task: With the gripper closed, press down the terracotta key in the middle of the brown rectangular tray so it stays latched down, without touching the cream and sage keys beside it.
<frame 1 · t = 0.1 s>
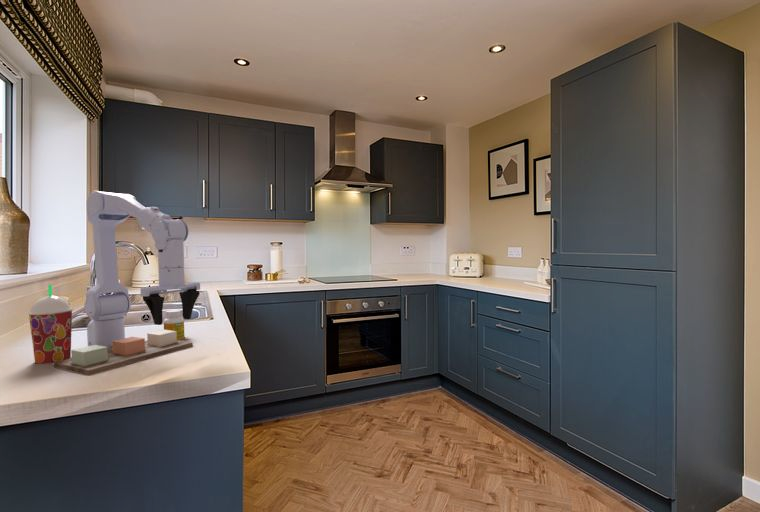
hand: (173, 321, 100), 10 cm above the counter, fingers open, 7 cm apart
key cream: (162, 339, 109), point 3 cm above the counter, slide at 0.0 cm
supplement bottle: (174, 344, 119), on the counter
key terracotta: (129, 347, 101), point 3 cm above the counter, slide at 0.0 cm
smoothie: (53, 366, 98), on the counter
brown rectangular tray: (129, 361, 101), on the counter
key sage: (89, 357, 93), point 4 cm above the counter, slide at 0.0 cm
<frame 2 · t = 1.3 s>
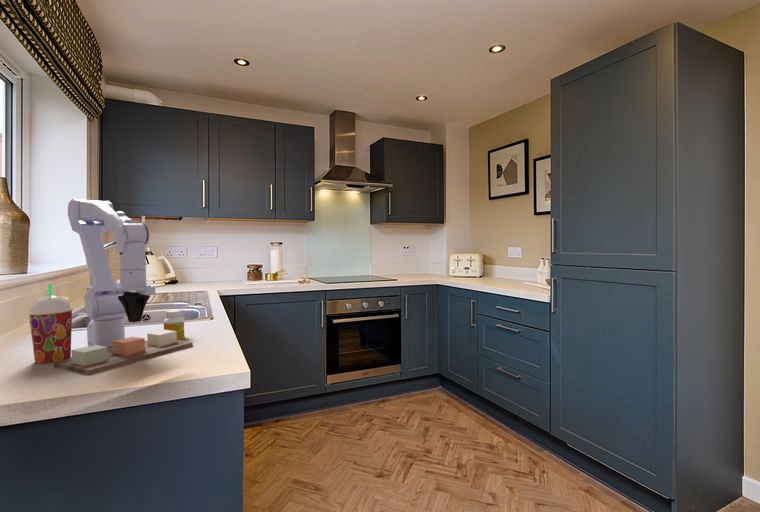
hand: (135, 321, 104), 9 cm above the counter, fingers closed
nothing on the counter moved.
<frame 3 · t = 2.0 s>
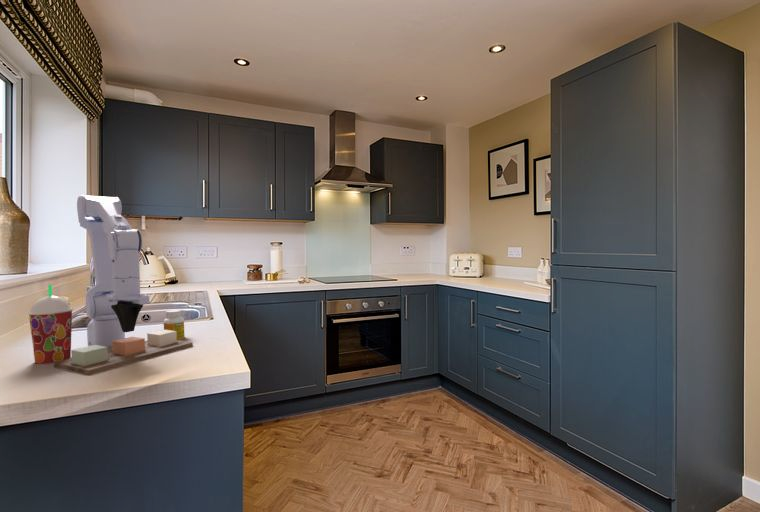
hand: (128, 331, 101), 8 cm above the counter, fingers closed
nothing on the counter moved.
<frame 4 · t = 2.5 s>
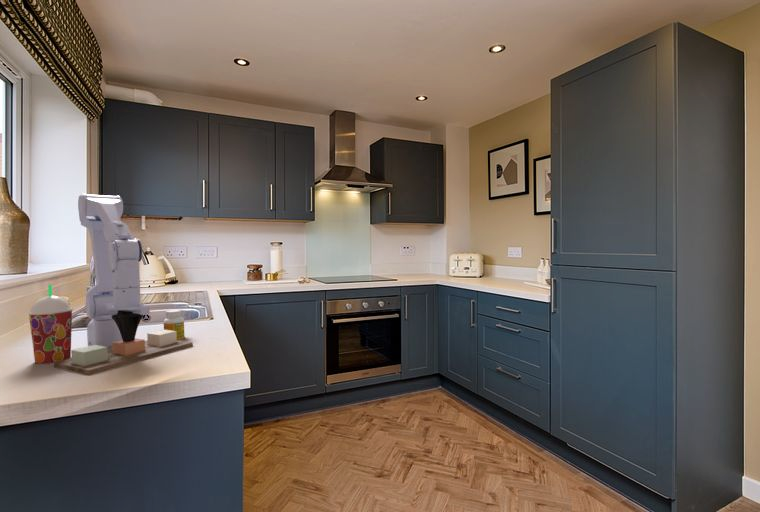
hand: (128, 341, 101), 5 cm above the counter, fingers closed, pressing on key terracotta
key terracotta: (129, 348, 101), point 3 cm above the counter, slide at 0.3 cm, touching gripper
everything else where it was.
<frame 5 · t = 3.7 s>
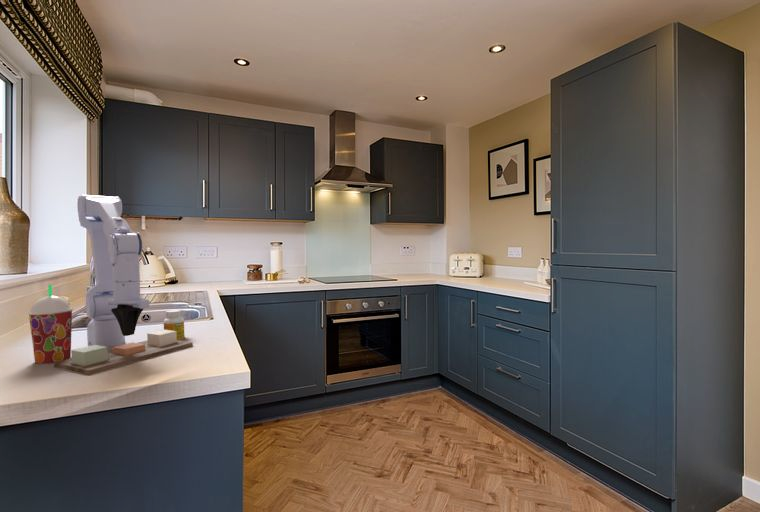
hand: (128, 334, 101), 7 cm above the counter, fingers closed
key terracotta: (129, 353, 101), point 2 cm above the counter, slide at 1.5 cm
everything else where it was.
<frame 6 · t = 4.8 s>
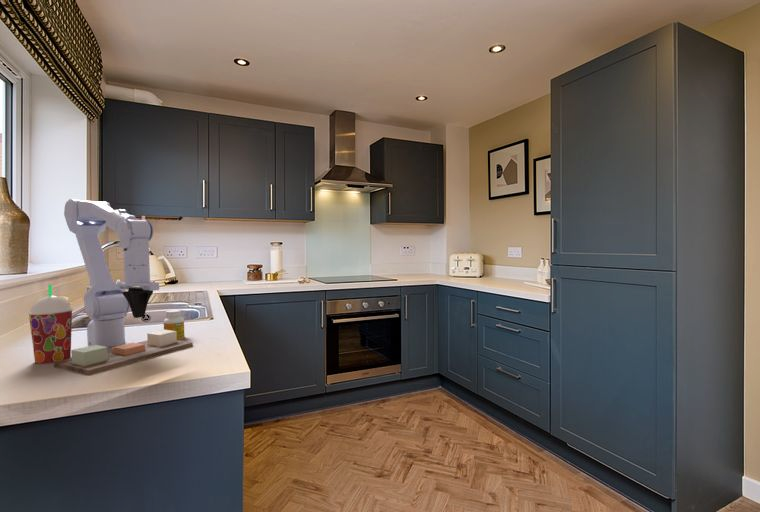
hand: (139, 317, 105), 10 cm above the counter, fingers closed
nothing on the counter moved.
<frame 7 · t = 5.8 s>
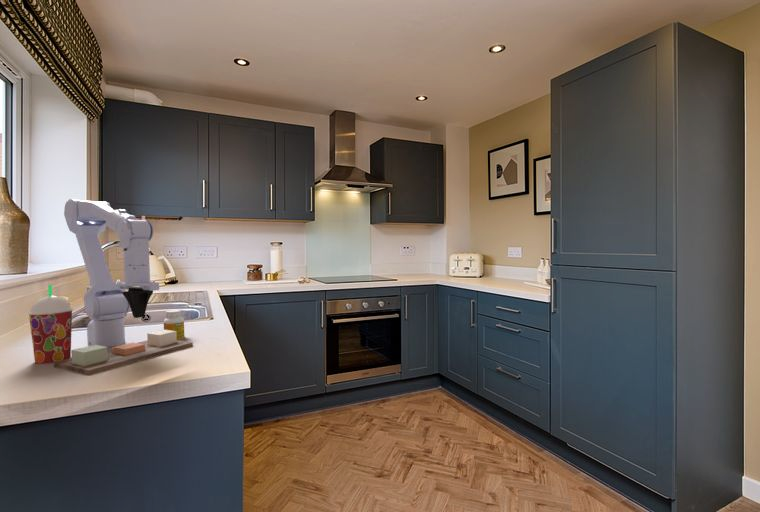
hand: (139, 317, 105), 10 cm above the counter, fingers closed
nothing on the counter moved.
at the end: key terracotta slide at 1.5 cm; key cream slide at 0.0 cm; key sage slide at 0.0 cm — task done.
